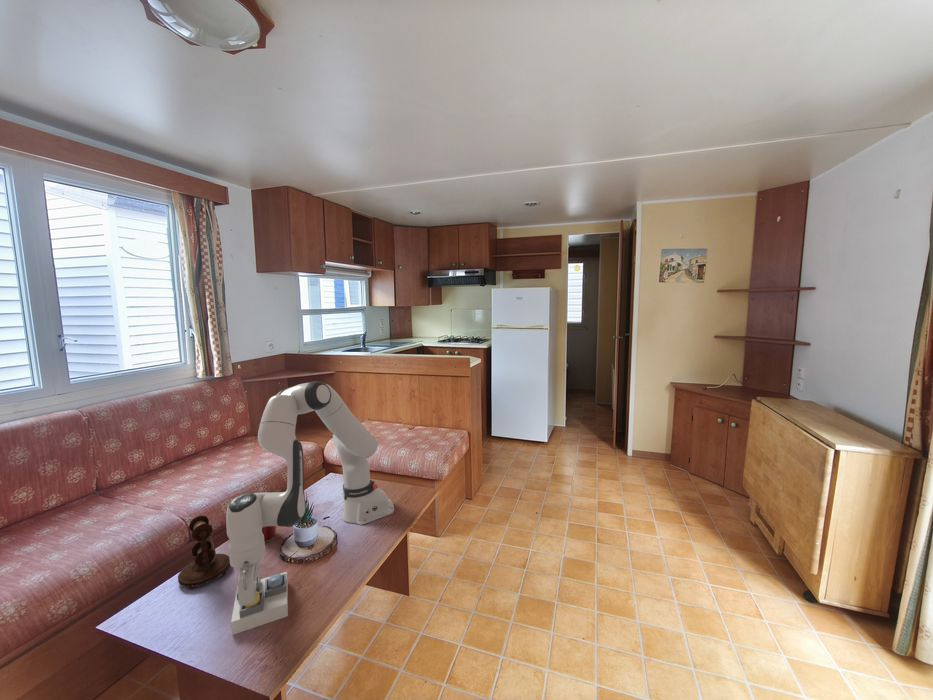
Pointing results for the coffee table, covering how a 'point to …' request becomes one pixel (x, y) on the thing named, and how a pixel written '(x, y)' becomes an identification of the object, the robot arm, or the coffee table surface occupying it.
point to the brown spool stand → (203, 557)
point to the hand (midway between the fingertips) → (251, 596)
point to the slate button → (275, 581)
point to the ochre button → (256, 602)
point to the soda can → (269, 532)
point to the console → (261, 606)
